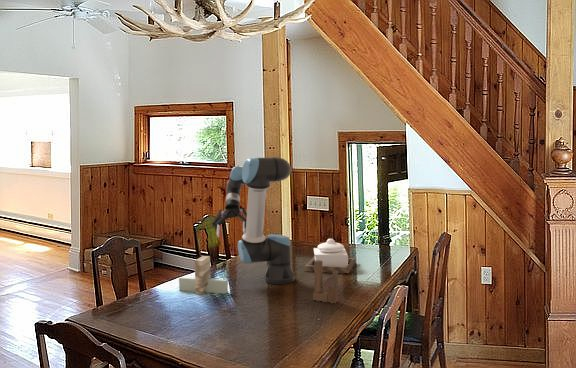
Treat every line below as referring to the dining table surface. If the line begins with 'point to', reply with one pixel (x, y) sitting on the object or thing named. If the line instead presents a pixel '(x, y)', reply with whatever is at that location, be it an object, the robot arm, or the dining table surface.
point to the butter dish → (331, 254)
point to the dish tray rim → (347, 269)
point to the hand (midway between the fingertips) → (230, 234)
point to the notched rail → (212, 286)
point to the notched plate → (202, 273)
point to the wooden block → (325, 285)
